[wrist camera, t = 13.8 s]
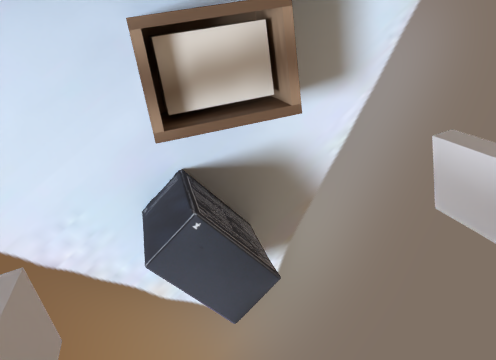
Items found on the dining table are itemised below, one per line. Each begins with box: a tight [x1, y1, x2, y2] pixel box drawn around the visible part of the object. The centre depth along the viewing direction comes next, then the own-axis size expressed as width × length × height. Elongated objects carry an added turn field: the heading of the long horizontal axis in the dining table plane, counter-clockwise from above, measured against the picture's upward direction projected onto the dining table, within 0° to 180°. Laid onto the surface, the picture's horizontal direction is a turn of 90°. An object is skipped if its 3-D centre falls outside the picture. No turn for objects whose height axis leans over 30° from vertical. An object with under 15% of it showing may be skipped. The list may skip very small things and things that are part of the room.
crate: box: [126, 0, 302, 143], centre depth 34 cm, size 9×12×8 cm
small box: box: [142, 170, 281, 324], centre depth 38 cm, size 11×6×10 cm, turn 45°
